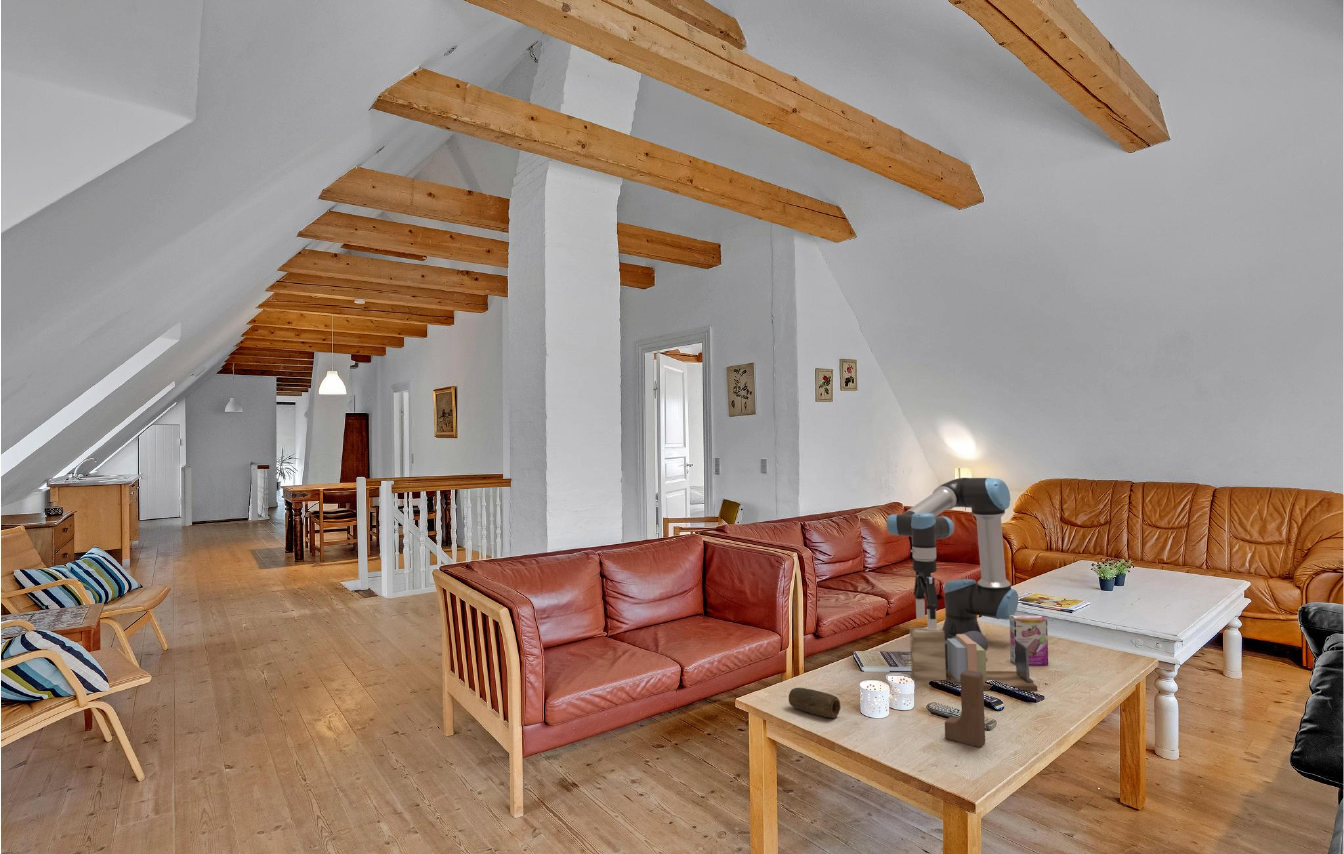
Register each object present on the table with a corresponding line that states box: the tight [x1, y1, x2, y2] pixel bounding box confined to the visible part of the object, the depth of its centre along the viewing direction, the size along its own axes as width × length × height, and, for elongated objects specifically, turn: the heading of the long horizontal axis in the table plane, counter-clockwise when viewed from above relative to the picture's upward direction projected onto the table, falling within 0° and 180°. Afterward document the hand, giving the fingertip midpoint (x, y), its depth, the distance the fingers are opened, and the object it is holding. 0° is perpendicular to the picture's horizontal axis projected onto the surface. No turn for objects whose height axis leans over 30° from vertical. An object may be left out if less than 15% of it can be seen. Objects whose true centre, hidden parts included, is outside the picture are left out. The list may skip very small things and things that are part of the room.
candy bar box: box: [1009, 614, 1049, 666], centre depth 235 cm, size 11×5×16 cm, turn 84°
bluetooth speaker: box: [945, 631, 989, 669], centre depth 236 cm, size 23×9×10 cm, turn 131°
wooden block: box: [944, 670, 986, 748], centre depth 175 cm, size 9×4×18 cm, turn 50°
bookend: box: [1015, 641, 1035, 684], centre depth 216 cm, size 8×2×11 cm, turn 174°
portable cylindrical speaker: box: [788, 687, 841, 719], centre depth 196 cm, size 15×7×7 cm, turn 49°
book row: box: [946, 634, 987, 682], centre depth 218 cm, size 11×9×12 cm
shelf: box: [946, 670, 1038, 692], centre depth 217 cm, size 14×24×2 cm, turn 84°
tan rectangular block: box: [909, 627, 947, 681], centre depth 223 cm, size 5×10×16 cm, turn 85°
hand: (926, 623), depth 223 cm, fingers open, 13 cm apart
